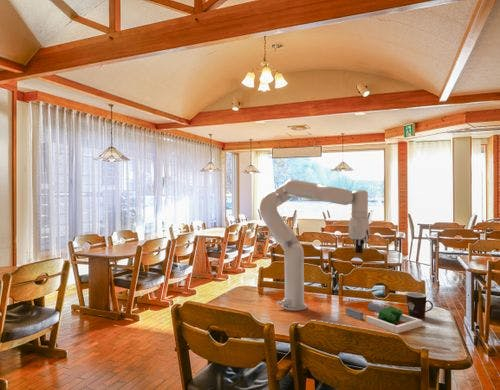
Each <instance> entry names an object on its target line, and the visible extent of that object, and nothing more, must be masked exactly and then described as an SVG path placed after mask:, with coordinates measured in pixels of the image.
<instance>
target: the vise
mask: <svg viewBox="0 0 500 390" xmlns="http://www.w3.org/2000/svg"><path fill="white" fill-rule="evenodd" d="M390 306H391V305H387V304H385V303H380V304H377V303H374V302H367V309H368V310H369V311H372V312H376V313H378V314H379V311H381V310H383V309H386V308H388V307H390ZM345 315H346V316H349V317H351V318H354V319H357V320H358V321H362V320H364V312H363V311H360V310H357V309H355V308H352V307H345Z"/></svg>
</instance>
